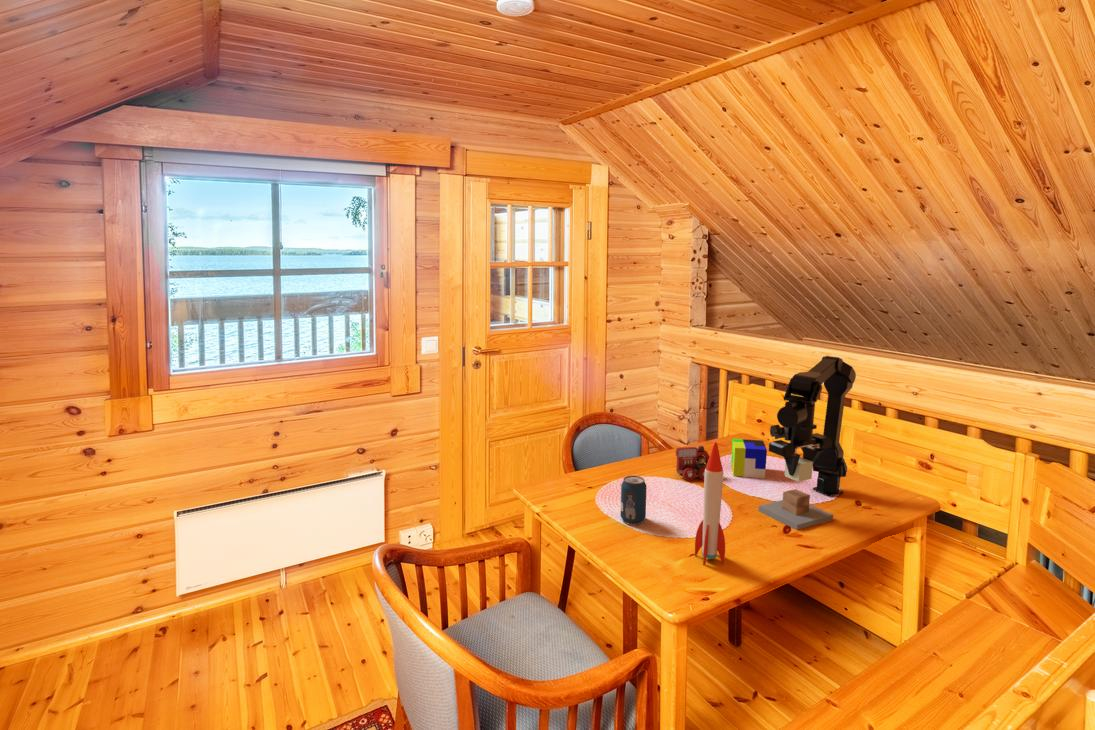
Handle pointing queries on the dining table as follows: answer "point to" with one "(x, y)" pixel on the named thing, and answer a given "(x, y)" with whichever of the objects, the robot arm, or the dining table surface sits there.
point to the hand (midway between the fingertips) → (798, 473)
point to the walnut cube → (795, 501)
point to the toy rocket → (711, 511)
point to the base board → (793, 520)
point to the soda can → (633, 500)
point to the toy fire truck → (691, 462)
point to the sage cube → (801, 470)
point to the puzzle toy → (748, 458)
